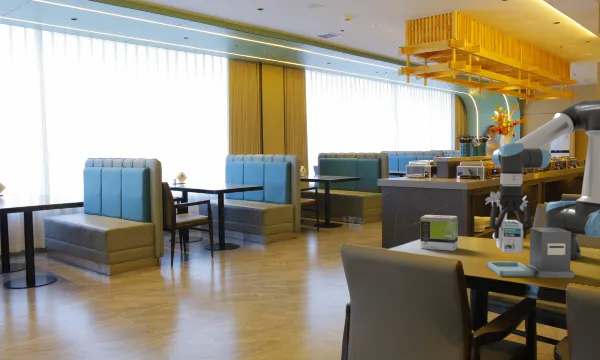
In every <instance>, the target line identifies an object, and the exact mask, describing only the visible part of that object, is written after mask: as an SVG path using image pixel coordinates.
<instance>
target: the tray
mask: <svg viewBox="0 0 600 360" xmlns="http://www.w3.org/2000/svg"><path fill="white" fill-rule="evenodd" d="M486 268H488V269H489V270H490V271H492V272H493V273H495V274H496V275H497V276H498V277H500V278H501V277H511V278H512V277H514V278H515V277H520V278H521V277H523V278H524V277H527V278H530V277H532V278H533V277H534V278H535V277H536V276H535V271H534V270H532V269H530V268H528V267H527V266H526V264H523V263H522V262H519V261H486Z"/></svg>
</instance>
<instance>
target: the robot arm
mask: <svg viewBox="0 0 600 360" xmlns="http://www.w3.org/2000/svg"><path fill="white" fill-rule="evenodd" d="M582 130H583V131H585V135H587V137H588V141H587V142H588V144H587V150H586V158H585V165H584V174H583V181H582V187H581V188H582V189H581V195H580V197H579V198H578V199H576V200H567V201H566V200H564V201H563V200H561V201H549V202H547V203H546V210H545V228H561V229H563V230H566V231H569V232H571V255H570V260H577V259H581V257H582V251H581V248H580V244H579V241H578V238H577V235H582V236H586V237H587V236H588V237H590V238H591V237H592V238H600V99H592V100H583V101H579V102H577V103H574V104H572V105H569V106H568V107H566V108H564V109H562V110H561V111H560V112H557V113H556V114H555V115H554V116H553V118H552V119H551V120H549V121H547V122H546V123H544V124H543V125H541V126H539V127H537V129H535V130H533V131H531V132H530V133H528V134H526V135H525V136H523V137H522V138H520V139H518V140H517V141H515V142H505V143H504V142H503V143H502V145H501V148H497V149H495V150H494V151H493V152H492V157H491V160H492V162H493V164H494V165H495V166H496V167H499V168H500V178H499V182H500V183H499V184H500V186H499V192H500V198H499V200H497V201H491V202H490V204H491V205H490V206H491V209H490V210H491V211H490V216H489V217H490V218H489V223H488V226H489V228H491V229H493V230H494V231H493V234H494V237H495V238H496V239H497V244H496V247H497V248H498V249H500V248H501V233H502V230H500V226H501V224H502V222H503V219H504V217H505V214H506V213H507V214H508V212H510V211H513V212H514V213H515V217H516V220H517V221H518V222H520V223H522V224H523V237H522V249H523V248H524V239H525V240H526V238H527V231H528V230H530V228H533V226H532V218H531V215H532V214H531V204H532V202H531V201H528V200H523V186H522V185H523V180H524V179H523V177H524V176H523V174H524V169H525V170H528V169H529V170H530V169H532V170H533V169H534V170H535V169H536V170H537V169H538V170H539V169H545V168H547V167H548V166H549V165H550V162H551V153H550V152H549V150H548V149H546V148H544V147H545V146H547V145H549V144H551V143H552V142H554V141H556V140H557V139H559V138H560V137H562V136H563V135H566V136H567V135H570V134H572V133H573V132H575V131H576V132H577V131H582ZM499 203H500V205H501V206H502V208H501V210H500V209H499V214H498V213H497V212H498V207H499ZM522 203H523V212H524V214H522V209H520V206H521V205H522ZM497 214H498V216H497ZM523 215H524V217H523Z"/></svg>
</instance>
